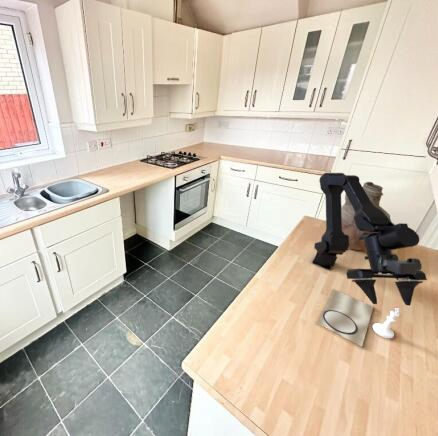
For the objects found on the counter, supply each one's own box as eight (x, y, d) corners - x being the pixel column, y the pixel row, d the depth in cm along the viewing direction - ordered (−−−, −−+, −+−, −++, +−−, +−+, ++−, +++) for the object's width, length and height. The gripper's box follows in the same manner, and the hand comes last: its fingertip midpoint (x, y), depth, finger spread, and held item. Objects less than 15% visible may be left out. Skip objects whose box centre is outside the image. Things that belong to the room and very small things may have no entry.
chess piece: (388, 326, 76) (404, 304, 71) (396, 340, 72) (414, 317, 67) (369, 322, 77) (383, 300, 72) (376, 335, 73) (392, 313, 68)
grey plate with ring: (318, 323, 77) (319, 322, 77) (334, 290, 89) (335, 289, 89) (361, 347, 70) (362, 345, 70) (372, 308, 82) (373, 306, 82)
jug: (374, 266, 101) (411, 200, 86) (316, 244, 115) (339, 185, 100) (383, 245, 113) (416, 185, 99) (329, 228, 127) (351, 173, 113)
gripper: (368, 247, 69) (381, 305, 64) (439, 248, 68) (457, 308, 63) (341, 253, 80) (350, 303, 75) (401, 254, 78) (414, 305, 74)
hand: (391, 304), depth 72 cm, fingers open, 9 cm apart
